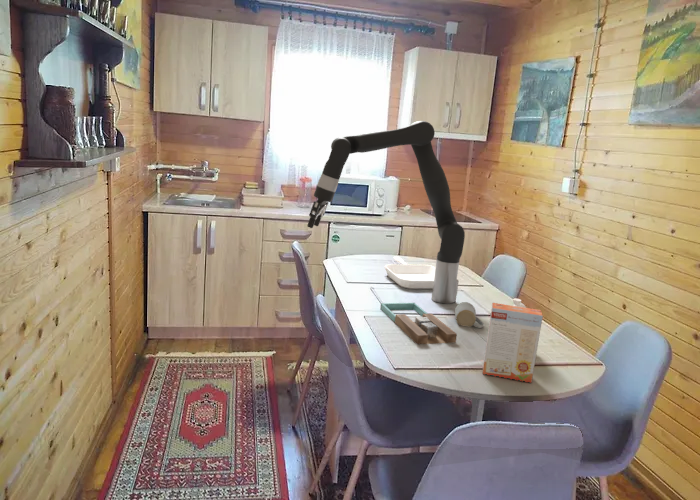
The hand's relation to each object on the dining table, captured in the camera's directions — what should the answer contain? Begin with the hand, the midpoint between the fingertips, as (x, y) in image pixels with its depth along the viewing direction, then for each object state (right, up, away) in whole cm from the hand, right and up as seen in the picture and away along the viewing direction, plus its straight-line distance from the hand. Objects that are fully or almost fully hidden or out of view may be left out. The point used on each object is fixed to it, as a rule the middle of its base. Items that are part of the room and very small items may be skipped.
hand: (312, 226), depth 210 cm
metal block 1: (+40, -37, -25) cm, 60 cm away
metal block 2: (+41, -38, -30) cm, 64 cm away
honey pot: (+68, -43, -33) cm, 87 cm away
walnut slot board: (+40, -38, -26) cm, 61 cm away
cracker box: (+61, -46, -52) cm, 92 cm away
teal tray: (+35, -34, -11) cm, 50 cm away
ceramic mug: (+58, -37, -13) cm, 70 cm away
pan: (+44, -22, +46) cm, 67 cm away
